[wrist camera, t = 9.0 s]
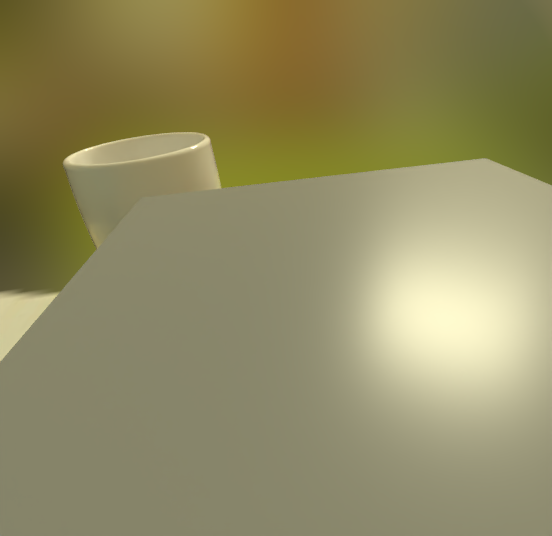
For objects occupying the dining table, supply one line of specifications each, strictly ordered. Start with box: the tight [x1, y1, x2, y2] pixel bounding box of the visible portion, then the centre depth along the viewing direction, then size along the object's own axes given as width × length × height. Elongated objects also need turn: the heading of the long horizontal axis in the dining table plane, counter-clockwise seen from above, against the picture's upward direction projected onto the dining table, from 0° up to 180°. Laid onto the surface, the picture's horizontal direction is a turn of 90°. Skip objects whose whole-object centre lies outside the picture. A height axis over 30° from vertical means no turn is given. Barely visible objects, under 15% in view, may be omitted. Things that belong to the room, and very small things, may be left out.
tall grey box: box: [0, 158, 552, 536], centre depth 10 cm, size 11×11×14 cm
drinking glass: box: [63, 132, 221, 249], centre depth 20 cm, size 7×7×15 cm
